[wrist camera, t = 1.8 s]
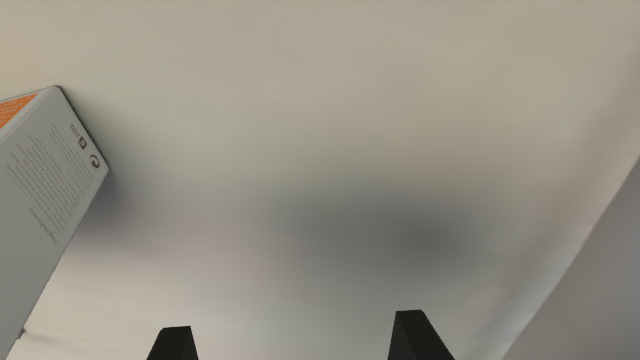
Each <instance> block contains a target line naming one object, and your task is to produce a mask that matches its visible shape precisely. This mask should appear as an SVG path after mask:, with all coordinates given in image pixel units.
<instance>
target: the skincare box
mask: <svg viewBox="0 0 640 360" xmlns="http://www.w3.org/2000/svg"><path fill="white" fill-rule="evenodd" d="M108 171H109V169H108V166H107V164H106V163H105V161H104V159H103V158H102V156H101V155H100V153H99V151H98V150H97V148H96V147H95V145H94V143H93V142H92V140H91V139H90V137H89V136H88V134H87V132H86V131H85V129H84V128H83V126H82V124H81V123H80V121H79V120H78V118H77V116H76V115H75V113H74V111H73V110H72V108H71V107H70V105H69V103H68V102H67V100H66V98H65V97H64V95H63V93H62V92H61V90H60V89H59V88H58V87H56V86H52V87H48V88H46V89H43V90H39V91H36V92H33V93H29V94H25V95H22V96H18V97H14V98H11V99H7V100H4V101H0V360H6V358H7V356H8V354H9V352H10V350H11V349H12V347H13V345H14V343H15V341H16V340H17V338H18V336H19V334H20V332H21V330H22V328H23V326H24V325H25V323H26V321H27V319H28V318H29V316H30V314H31V312H32V310H33V308H34V306H35V305H36V303H37V301H38V299H39V297H40V295H41V294H42V292H43V290H44V288H45V286H46V284H47V283H48V281H49V279H50V277H51V275H52V274H53V272H54V270H55V268H56V266H57V265H58V263H59V261H60V259H61V257H62V255H63V253H64V252H65V250H66V248H67V246H68V244H69V242H70V241H71V239H72V237H73V235H74V233H75V231H76V230H77V228H78V226H79V224H80V222H81V220H82V219H83V217H84V215H85V213H86V212H87V210H88V208H89V206H90V204H91V202H92V201H93V199H94V197H95V195H96V193H97V191H98V190H99V188H100V186H101V184H102V182H103V180H104V178H105V177H106V175H107V173H108Z"/></svg>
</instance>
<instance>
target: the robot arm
mask: <svg viewBox="0 0 640 360" xmlns="http://www.w3.org/2000/svg"><path fill="white" fill-rule="evenodd" d="M147 360H199V359H198V355H197V351H196V347H195V343H194V339H193V335H192V331H191V327H190V326H182V327H168V328H163V329H162V330H161V331H160V332H159V334H158V336H157V339H156V341H155V343H154V345H153V347H152V349H151V351H150V353H149V355H148V358H147ZM388 360H455V359H454V358H453V356H452V355H451V353H450V352H449V351H448V349H447V348H446V346H445V345H444V343H443V342H442V340H441V339H440V337H439V336H438V334H437V332H436V331H435V329H434V328H433V326H432V325H431V323H430V321H429V320H428V318H427V317H426V315H425V313H424V312H423V311H422V310H408V311H396V315H395V321H394V326H393V332H392V338H391V344H390V349H389V355H388Z"/></svg>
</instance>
